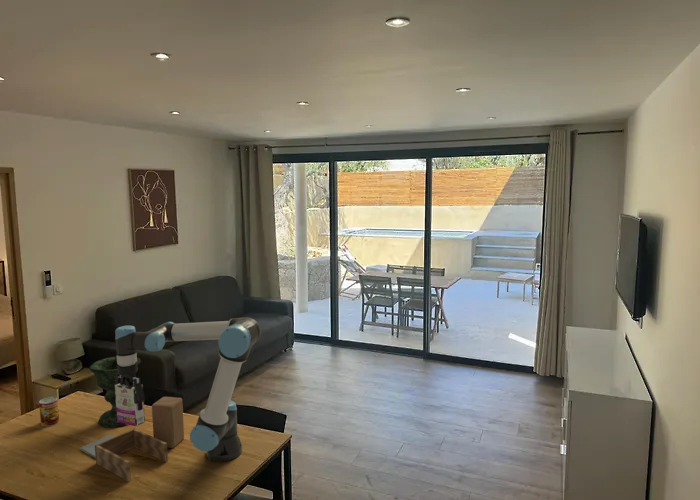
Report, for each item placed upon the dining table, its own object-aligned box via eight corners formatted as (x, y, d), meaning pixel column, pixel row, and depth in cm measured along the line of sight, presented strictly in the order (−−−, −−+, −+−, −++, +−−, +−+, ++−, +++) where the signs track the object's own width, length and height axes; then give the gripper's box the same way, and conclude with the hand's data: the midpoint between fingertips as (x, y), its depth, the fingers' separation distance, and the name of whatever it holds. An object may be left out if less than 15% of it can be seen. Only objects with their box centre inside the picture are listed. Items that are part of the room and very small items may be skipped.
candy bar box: (145, 421, 204) (143, 384, 202) (136, 427, 199) (134, 388, 197) (125, 417, 208) (123, 380, 206) (116, 422, 203) (113, 384, 202)
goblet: (121, 433, 232) (118, 372, 228) (83, 427, 238) (79, 368, 234) (152, 413, 253) (149, 357, 249) (116, 408, 259) (113, 353, 255)
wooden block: (173, 449, 216) (171, 406, 214) (153, 447, 218) (150, 404, 216) (185, 438, 226) (183, 397, 224) (165, 436, 228) (163, 395, 226)
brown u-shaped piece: (167, 461, 207) (167, 443, 206) (128, 481, 192) (127, 462, 191) (135, 445, 220) (134, 428, 219) (96, 463, 205) (94, 445, 205)
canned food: (45, 428, 237) (43, 404, 236) (37, 424, 241) (35, 401, 240) (62, 421, 244) (60, 398, 242) (54, 418, 248) (52, 395, 247)
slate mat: (127, 445, 220) (127, 443, 220) (96, 459, 209) (96, 456, 209) (110, 436, 228) (110, 434, 228) (80, 449, 217) (80, 447, 216)
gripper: (152, 366, 197) (155, 417, 200) (119, 355, 210) (123, 403, 213) (135, 371, 191) (139, 424, 193) (102, 360, 204) (106, 410, 207)
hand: (130, 413), depth 203 cm, fingers closed on candy bar box, 12 cm apart
